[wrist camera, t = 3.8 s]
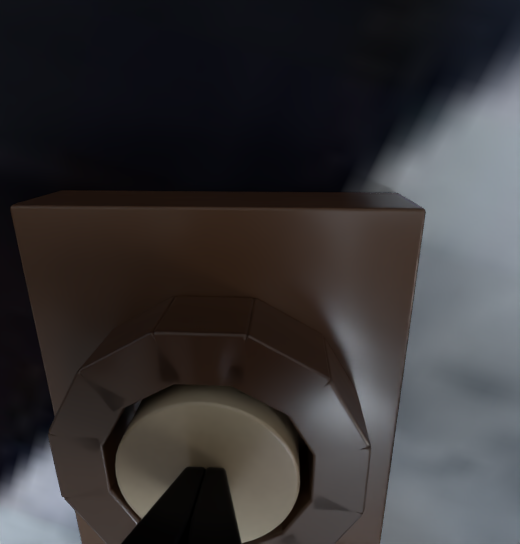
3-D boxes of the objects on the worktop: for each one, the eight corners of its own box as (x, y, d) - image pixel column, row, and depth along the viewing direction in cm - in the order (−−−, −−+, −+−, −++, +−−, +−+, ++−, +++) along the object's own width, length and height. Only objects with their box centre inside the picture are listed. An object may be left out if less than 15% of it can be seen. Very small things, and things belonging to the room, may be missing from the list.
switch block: (363, 509, 14) (390, 647, 10) (111, 496, 15) (52, 622, 11) (399, 192, 10) (463, 230, 7) (60, 189, 11) (-58, 224, 7)
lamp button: (295, 487, 11) (297, 552, 9) (149, 480, 11) (125, 542, 9) (300, 358, 9) (303, 407, 8) (133, 353, 10) (101, 399, 8)
